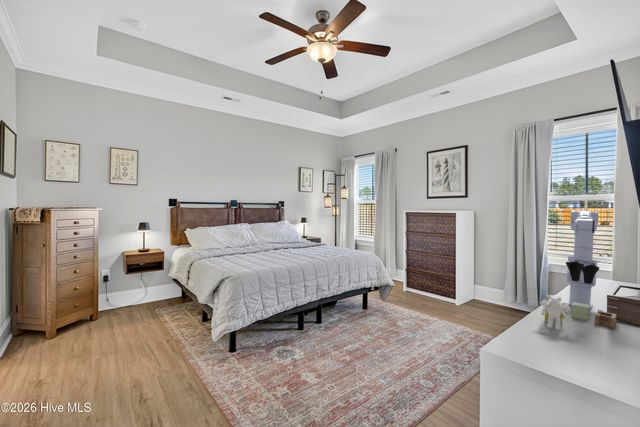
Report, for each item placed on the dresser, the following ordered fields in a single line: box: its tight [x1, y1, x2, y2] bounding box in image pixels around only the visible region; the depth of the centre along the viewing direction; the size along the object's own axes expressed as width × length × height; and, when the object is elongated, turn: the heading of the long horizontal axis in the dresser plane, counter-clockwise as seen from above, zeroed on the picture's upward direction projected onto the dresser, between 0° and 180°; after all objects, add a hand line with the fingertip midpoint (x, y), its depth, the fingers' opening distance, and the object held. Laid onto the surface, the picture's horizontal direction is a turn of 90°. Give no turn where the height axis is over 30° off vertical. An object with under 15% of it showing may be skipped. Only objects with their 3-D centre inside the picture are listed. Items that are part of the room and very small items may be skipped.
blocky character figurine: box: [539, 293, 572, 331], centre depth 112 cm, size 9×4×12 cm, turn 43°
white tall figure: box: [544, 294, 564, 325], centre depth 118 cm, size 5×5×10 cm
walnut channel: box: [561, 302, 617, 328], centre depth 122 cm, size 10×16×4 cm, turn 43°
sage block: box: [570, 302, 591, 321], centre depth 124 cm, size 5×5×5 cm
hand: (581, 282), depth 123 cm, fingers open, 7 cm apart
